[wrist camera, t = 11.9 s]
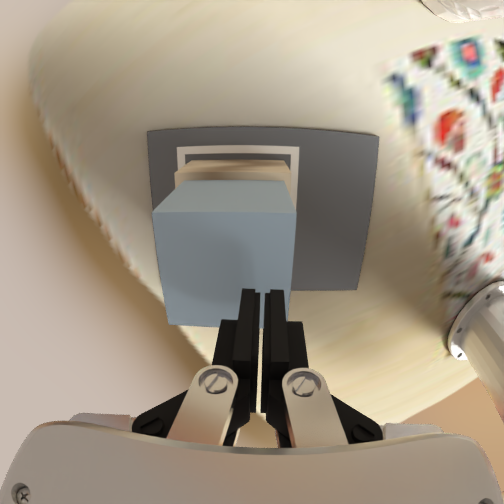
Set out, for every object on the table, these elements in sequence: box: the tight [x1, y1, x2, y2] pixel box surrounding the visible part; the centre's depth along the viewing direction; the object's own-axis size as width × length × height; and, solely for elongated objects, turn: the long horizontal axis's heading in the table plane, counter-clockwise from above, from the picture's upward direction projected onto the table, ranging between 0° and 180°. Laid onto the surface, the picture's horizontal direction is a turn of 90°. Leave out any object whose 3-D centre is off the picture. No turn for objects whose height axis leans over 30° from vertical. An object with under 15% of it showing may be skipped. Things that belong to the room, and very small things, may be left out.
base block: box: [174, 160, 291, 195], centre depth 21 cm, size 7×7×5 cm
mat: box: [147, 127, 379, 290], centre depth 24 cm, size 18×14×1 cm
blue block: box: [152, 180, 297, 328], centre depth 16 cm, size 6×6×6 cm
